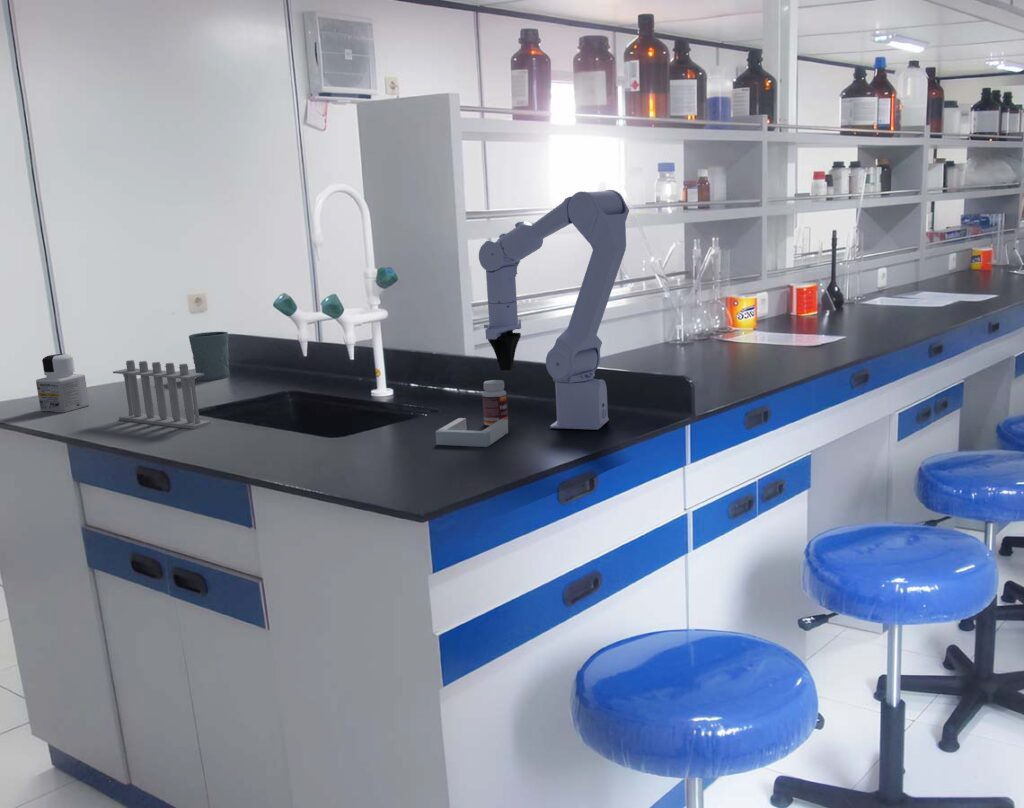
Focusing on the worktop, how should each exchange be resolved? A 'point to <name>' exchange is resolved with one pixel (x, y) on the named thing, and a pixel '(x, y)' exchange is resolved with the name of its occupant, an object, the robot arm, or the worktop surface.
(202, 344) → the dark green cup
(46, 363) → the container
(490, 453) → the worktop surface
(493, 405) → the pill bottle
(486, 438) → the square dock
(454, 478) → the worktop surface
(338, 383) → the worktop surface
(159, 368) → the test tube rack
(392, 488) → the worktop surface
